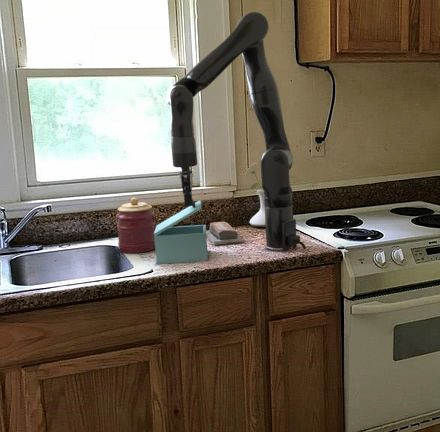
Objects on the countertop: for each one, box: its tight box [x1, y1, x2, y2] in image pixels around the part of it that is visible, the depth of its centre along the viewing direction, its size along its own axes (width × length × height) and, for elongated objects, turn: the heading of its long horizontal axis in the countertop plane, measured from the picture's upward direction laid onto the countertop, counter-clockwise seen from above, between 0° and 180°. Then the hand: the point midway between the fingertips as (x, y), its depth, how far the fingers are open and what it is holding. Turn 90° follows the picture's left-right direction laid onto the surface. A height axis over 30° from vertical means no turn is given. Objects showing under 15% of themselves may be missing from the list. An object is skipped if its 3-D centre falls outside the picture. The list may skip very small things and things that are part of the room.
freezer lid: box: [154, 194, 202, 236], centre depth 201 cm, size 16×13×5 cm
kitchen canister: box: [115, 197, 157, 254], centre depth 216 cm, size 13×13×18 cm
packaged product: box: [206, 221, 243, 246], centre depth 226 cm, size 18×5×10 cm
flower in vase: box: [243, 161, 266, 228], centre depth 243 cm, size 13×11×25 cm
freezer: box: [154, 224, 208, 265], centre depth 203 cm, size 16×13×9 cm
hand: (188, 204), depth 201 cm, fingers closed on freezer lid, 5 cm apart
